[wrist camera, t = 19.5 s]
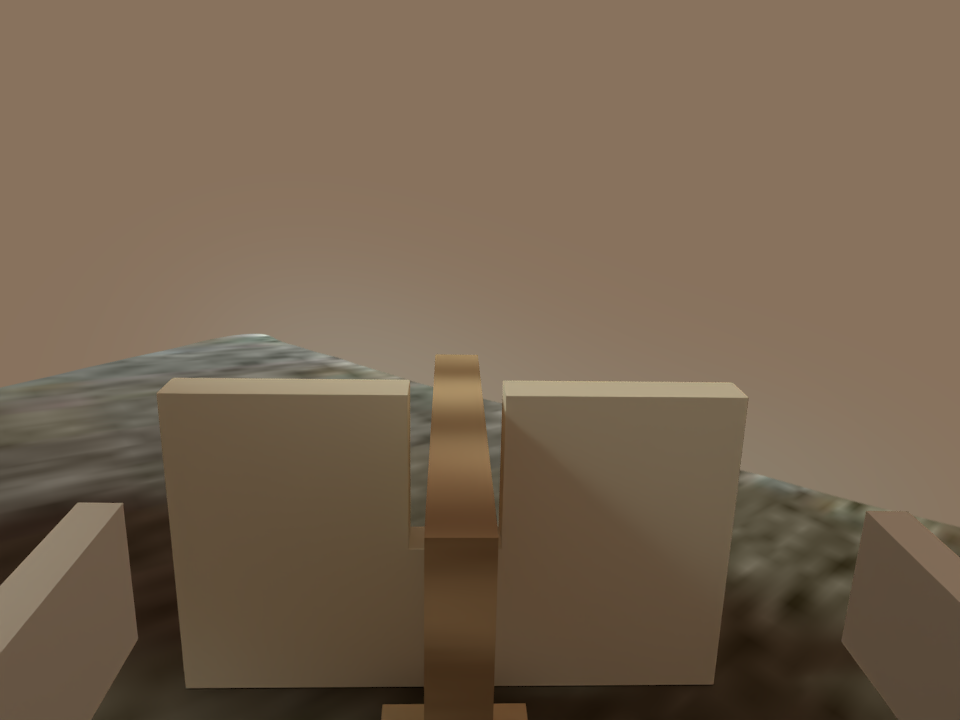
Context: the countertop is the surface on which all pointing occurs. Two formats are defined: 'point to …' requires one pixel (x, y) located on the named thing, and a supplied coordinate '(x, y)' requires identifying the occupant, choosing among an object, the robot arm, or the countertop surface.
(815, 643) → the countertop surface
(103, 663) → the robot arm
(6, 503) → the countertop surface
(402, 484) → the cream board
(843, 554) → the countertop surface
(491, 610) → the brown angled piece
